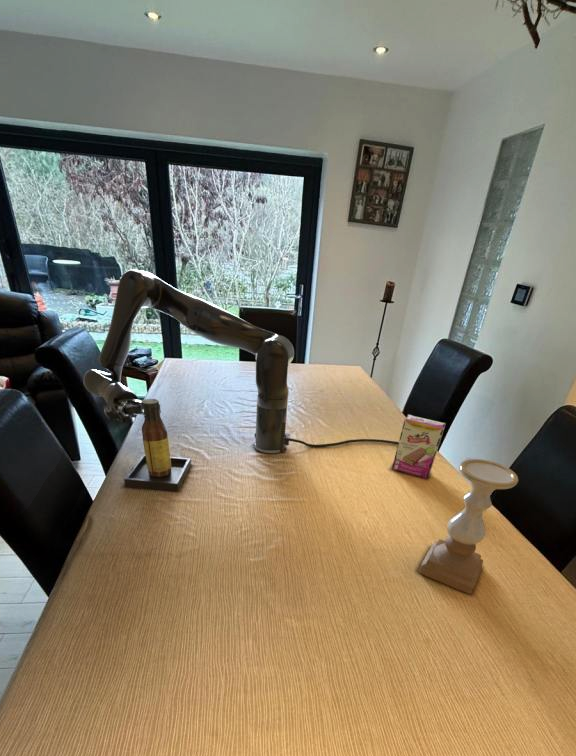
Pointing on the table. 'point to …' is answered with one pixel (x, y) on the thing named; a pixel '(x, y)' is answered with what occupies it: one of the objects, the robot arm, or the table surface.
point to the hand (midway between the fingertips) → (142, 417)
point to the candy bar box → (418, 446)
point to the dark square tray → (171, 482)
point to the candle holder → (467, 527)
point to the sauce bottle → (155, 440)
